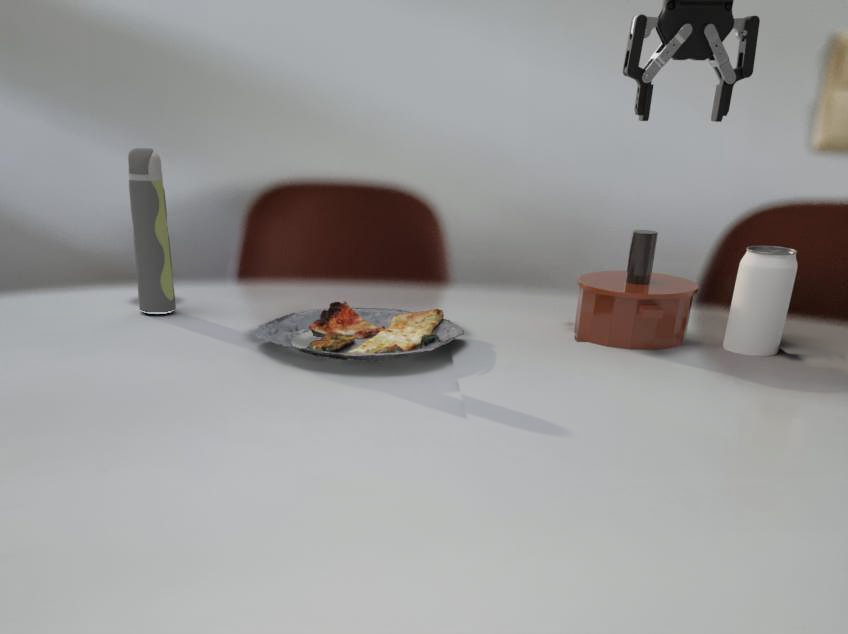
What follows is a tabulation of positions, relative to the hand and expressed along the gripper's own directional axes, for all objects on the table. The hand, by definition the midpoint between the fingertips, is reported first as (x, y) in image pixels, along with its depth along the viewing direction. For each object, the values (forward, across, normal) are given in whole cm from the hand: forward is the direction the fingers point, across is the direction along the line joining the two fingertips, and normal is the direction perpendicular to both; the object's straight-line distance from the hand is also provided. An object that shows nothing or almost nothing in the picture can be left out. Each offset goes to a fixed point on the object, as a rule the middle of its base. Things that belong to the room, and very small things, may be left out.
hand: (679, 121), depth 114 cm
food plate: (+25, +37, +8) cm, 45 cm away
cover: (+18, +3, +2) cm, 18 cm away
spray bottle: (+24, +65, -8) cm, 70 cm away
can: (+25, -11, +8) cm, 28 cm away
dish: (+25, +3, +2) cm, 25 cm away
